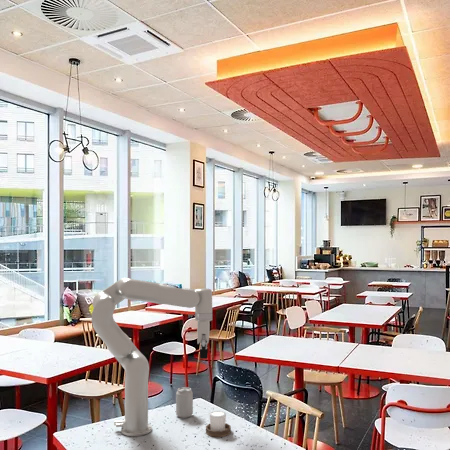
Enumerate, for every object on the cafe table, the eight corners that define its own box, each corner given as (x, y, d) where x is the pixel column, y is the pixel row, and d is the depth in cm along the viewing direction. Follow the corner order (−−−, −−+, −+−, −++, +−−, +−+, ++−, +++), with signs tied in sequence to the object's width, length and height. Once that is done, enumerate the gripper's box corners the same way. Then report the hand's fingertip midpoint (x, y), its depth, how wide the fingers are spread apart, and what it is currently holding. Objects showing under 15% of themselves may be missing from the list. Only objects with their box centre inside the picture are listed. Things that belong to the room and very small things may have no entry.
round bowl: (205, 437, 195) (205, 432, 195) (206, 427, 205) (206, 422, 205) (231, 436, 195) (231, 431, 195) (230, 427, 206) (230, 422, 206)
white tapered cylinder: (225, 427, 204) (225, 410, 204) (226, 433, 197) (226, 416, 197) (209, 427, 203) (209, 410, 204) (209, 434, 197) (209, 416, 197)
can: (173, 417, 217) (173, 390, 218) (179, 412, 224) (179, 385, 225) (189, 419, 215) (189, 391, 216) (194, 413, 223) (194, 387, 223)
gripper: (195, 314, 223) (196, 351, 223) (194, 319, 206) (194, 360, 205) (212, 313, 223) (212, 351, 223) (212, 319, 206) (212, 360, 206)
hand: (203, 355), depth 214 cm, fingers open, 9 cm apart
